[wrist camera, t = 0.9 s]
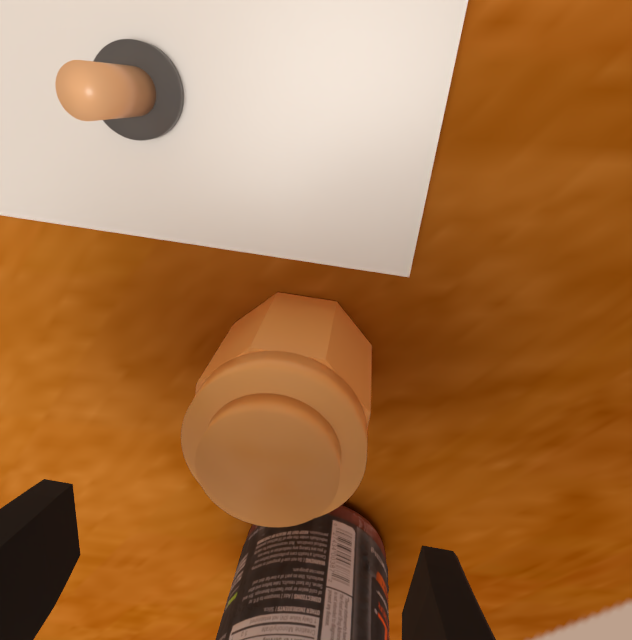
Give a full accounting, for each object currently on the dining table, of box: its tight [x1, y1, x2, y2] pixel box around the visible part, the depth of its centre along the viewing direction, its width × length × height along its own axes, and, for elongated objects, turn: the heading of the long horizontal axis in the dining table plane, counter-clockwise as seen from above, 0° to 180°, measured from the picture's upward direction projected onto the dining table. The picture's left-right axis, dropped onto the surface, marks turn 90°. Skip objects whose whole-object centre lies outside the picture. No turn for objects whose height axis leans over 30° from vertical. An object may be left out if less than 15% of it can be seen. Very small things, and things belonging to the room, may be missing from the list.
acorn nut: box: [181, 292, 372, 527], centre depth 15 cm, size 5×5×6 cm
